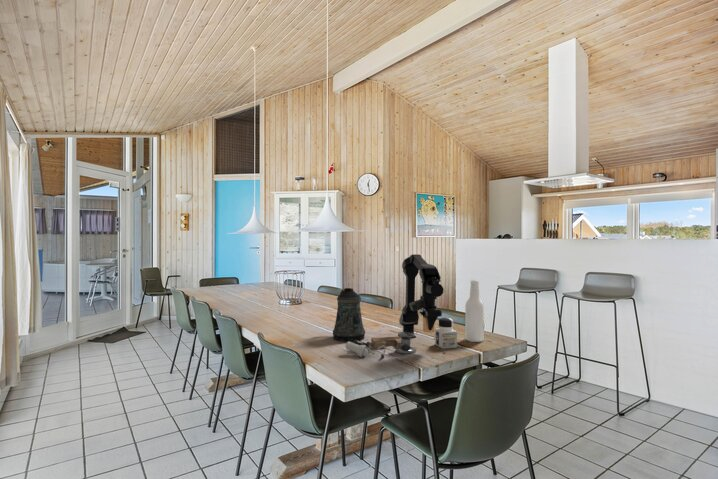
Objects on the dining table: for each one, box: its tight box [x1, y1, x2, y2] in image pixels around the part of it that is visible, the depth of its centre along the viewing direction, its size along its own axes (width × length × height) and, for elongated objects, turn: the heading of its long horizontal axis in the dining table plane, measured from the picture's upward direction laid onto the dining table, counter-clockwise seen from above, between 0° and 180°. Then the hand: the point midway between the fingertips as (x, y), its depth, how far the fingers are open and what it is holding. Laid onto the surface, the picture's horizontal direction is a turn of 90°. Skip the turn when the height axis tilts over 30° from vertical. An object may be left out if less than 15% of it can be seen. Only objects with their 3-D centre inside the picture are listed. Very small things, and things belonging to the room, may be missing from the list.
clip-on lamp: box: [345, 340, 386, 359], centre depth 173 cm, size 12×6×18 cm
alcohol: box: [464, 279, 485, 343], centre depth 199 cm, size 9×9×30 cm
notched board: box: [370, 336, 401, 350], centre depth 189 cm, size 11×16×2 cm
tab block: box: [422, 316, 435, 333], centre depth 177 cm, size 4×4×6 cm
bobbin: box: [395, 331, 417, 355], centre depth 178 cm, size 9×9×8 cm
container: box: [434, 317, 458, 349], centre depth 187 cm, size 8×8×13 cm
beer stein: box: [332, 287, 366, 343], centre depth 203 cm, size 16×19×25 cm
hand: (428, 329), depth 177 cm, fingers closed on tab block, 4 cm apart
